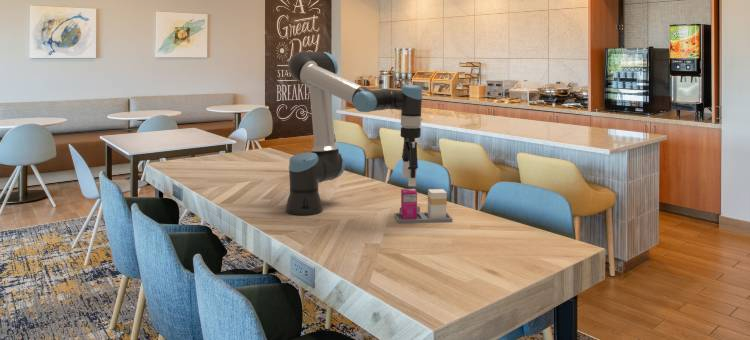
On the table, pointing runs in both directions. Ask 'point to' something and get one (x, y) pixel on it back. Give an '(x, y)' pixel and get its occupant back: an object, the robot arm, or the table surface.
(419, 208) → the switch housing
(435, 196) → the box
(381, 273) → the table surface
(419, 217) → the grey divided tray
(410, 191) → the supplement box
